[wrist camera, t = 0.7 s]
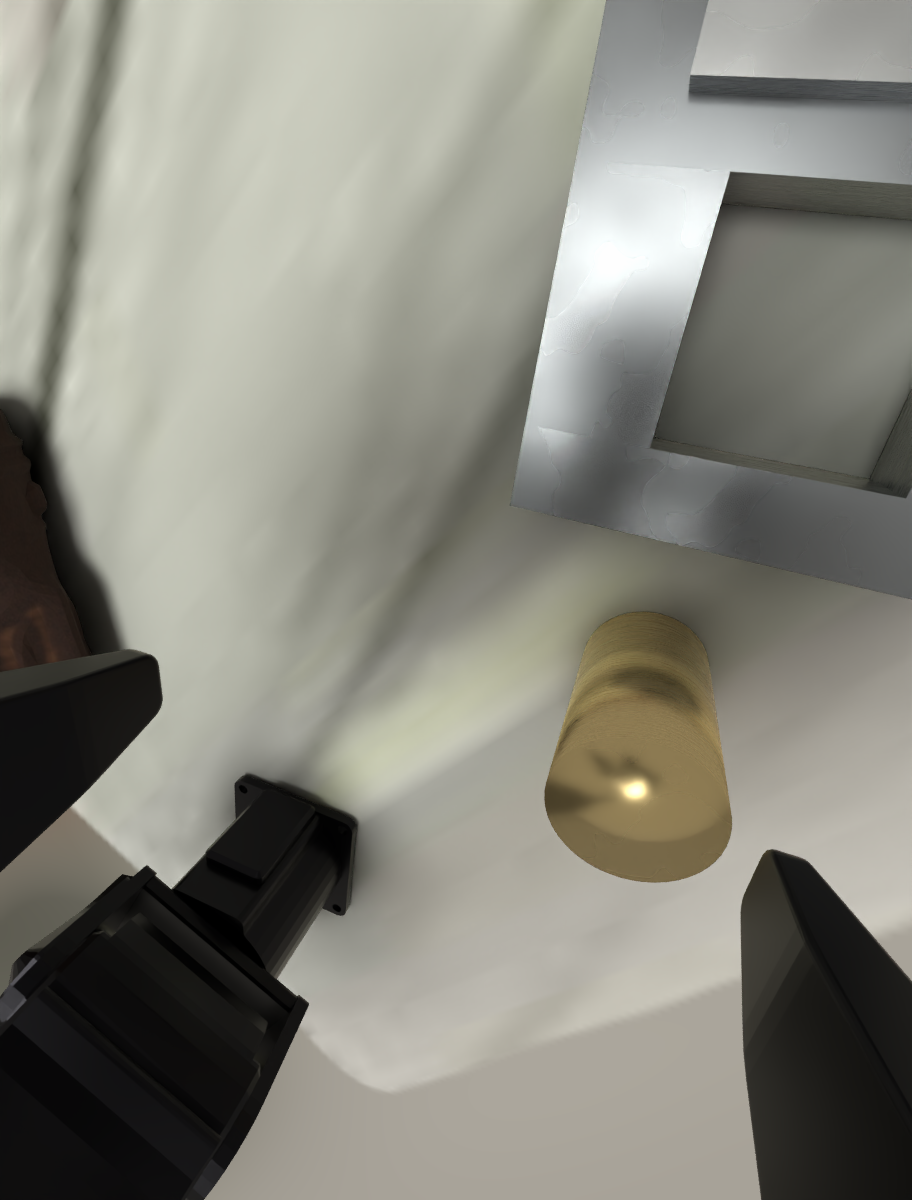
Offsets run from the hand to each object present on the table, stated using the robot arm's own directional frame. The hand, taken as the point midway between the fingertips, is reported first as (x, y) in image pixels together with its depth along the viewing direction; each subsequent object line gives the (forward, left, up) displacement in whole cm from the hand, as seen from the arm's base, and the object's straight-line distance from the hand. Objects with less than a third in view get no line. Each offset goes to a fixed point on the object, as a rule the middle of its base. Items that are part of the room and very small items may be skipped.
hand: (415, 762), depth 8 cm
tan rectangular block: (-4, -4, -12) cm, 13 cm away
